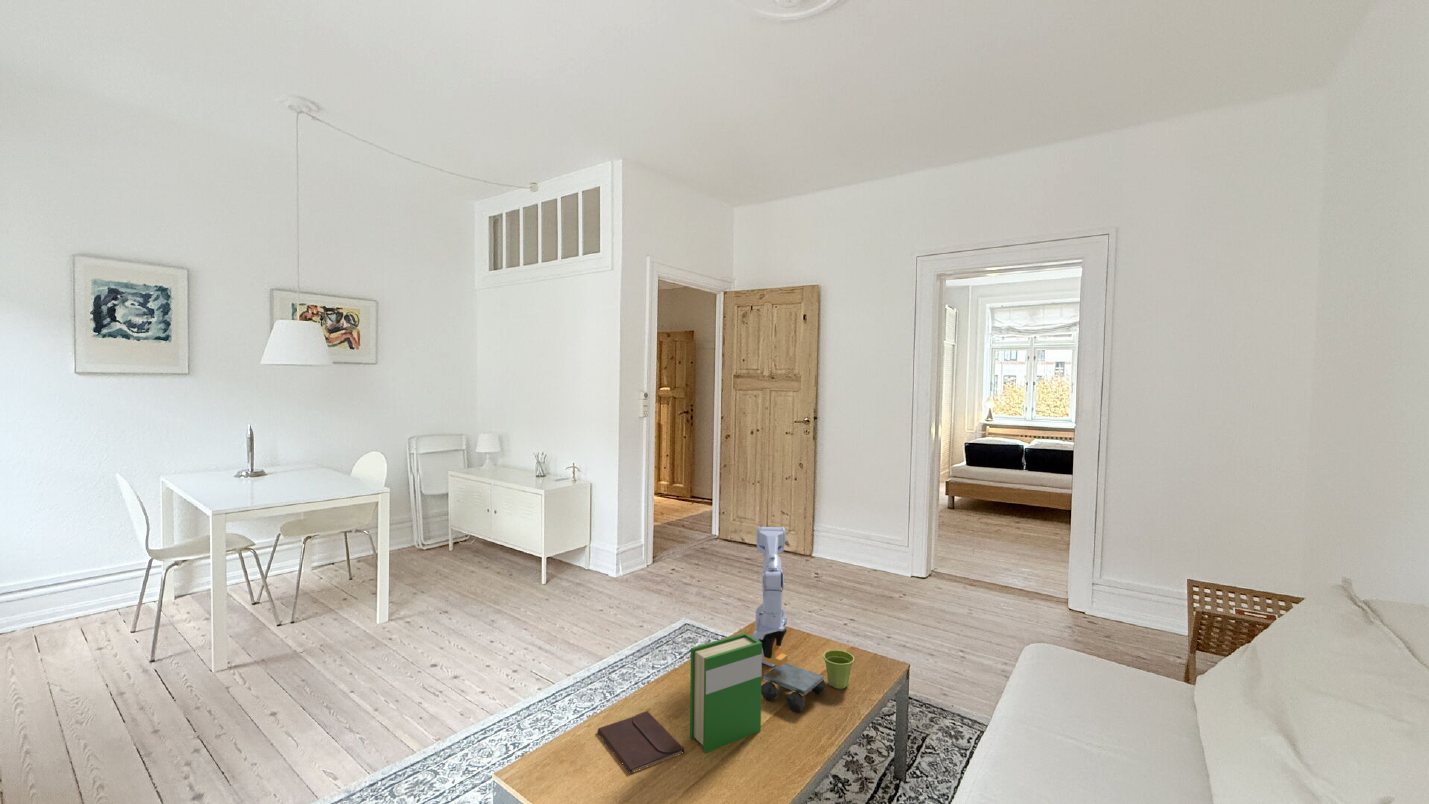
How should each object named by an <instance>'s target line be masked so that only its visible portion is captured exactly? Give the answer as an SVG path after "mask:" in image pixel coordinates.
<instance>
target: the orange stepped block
mask: <svg viewBox="0 0 1429 804" xmlns="http://www.w3.org/2000/svg"><path fill="white" fill-rule="evenodd" d="M782 649H783V648H782V645H781V646H778V645H776V639H775V641H774V644H773V648H772V656H771V658H770V659H769V658H766V657H764V659H763V661H766V662H769V663H771V664H774V665H775V666H780V667H781V666H782V665H783V664H785V663H788V655H787V654H785V653H783V651H782Z"/></svg>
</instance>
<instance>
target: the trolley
mask: <svg viewBox="0 0 1429 804" xmlns="http://www.w3.org/2000/svg"><path fill="white" fill-rule="evenodd" d="M763 680H765V681H766V682H764V683H763V684H761V697H762V698H763V699H764V700H765V701H767V702H773V701H774V700H775V699H777V697H778V689H777V686H776V685H778V686H780V687H782V688H785V689H788V690H790V691H792V692H791V693H789V695H787V697H786V703H787V706H788V708H789V709H790V710H791V711H792V712H794V713H799V712H801V711H802V710H803V709H804V708H805V705H806V702H805V699H804V696H805V695H807V694H808V693H809V692H812V693H814V694H815V695H820V694H822V693H823V692H824V691H825V690H826V686H827V685H826V682H825V680H824V675H822V674H820V673H816V672H813V671H810V670H807V669H805V668H802V667H799V666H796V665H793V664H791V663H788V662H786V663H785V664H783V665H782V666H781V667H780V666H777V665H775V666H774V667H773V668H771V670H769V671H767V672H766V673H765V674H763ZM803 695H804V696H803Z"/></svg>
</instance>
